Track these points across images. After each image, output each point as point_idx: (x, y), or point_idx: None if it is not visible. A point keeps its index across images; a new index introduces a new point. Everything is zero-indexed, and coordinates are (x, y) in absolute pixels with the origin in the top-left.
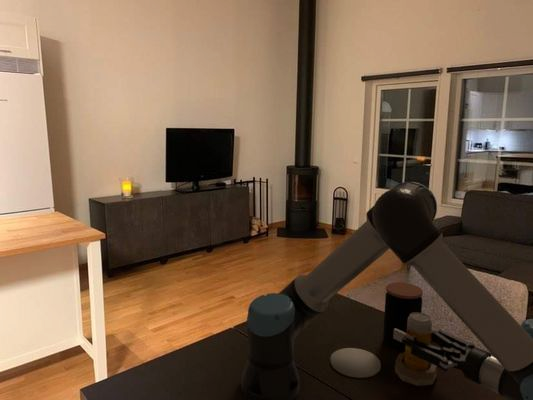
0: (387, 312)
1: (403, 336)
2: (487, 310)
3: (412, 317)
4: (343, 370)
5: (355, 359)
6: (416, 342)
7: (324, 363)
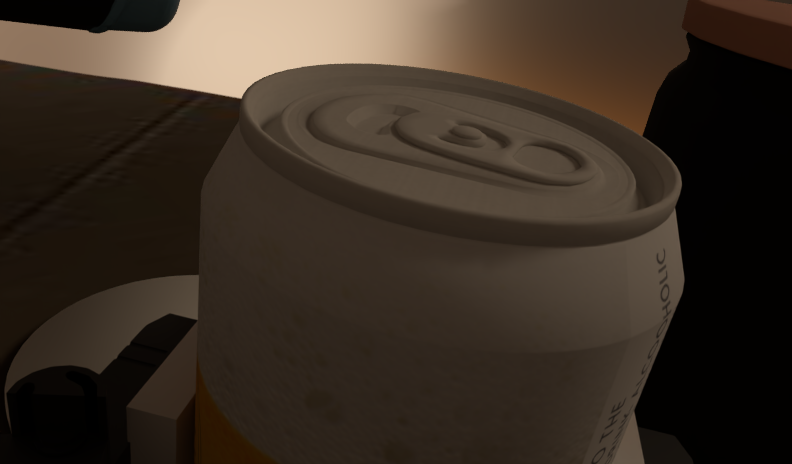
0: None
1: None
2: None
3: (357, 91)
4: (46, 344)
5: None
6: (19, 453)
7: (106, 279)
